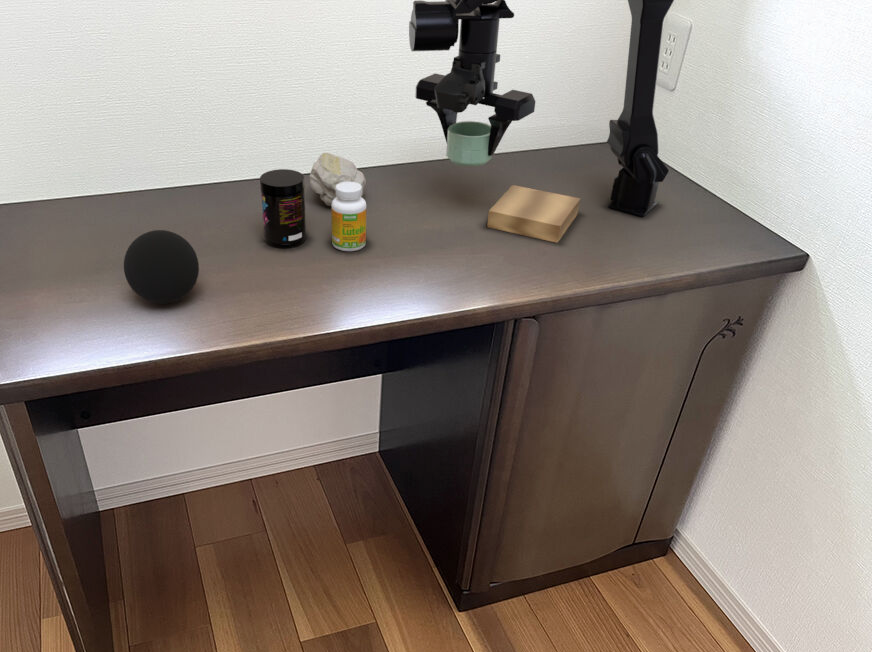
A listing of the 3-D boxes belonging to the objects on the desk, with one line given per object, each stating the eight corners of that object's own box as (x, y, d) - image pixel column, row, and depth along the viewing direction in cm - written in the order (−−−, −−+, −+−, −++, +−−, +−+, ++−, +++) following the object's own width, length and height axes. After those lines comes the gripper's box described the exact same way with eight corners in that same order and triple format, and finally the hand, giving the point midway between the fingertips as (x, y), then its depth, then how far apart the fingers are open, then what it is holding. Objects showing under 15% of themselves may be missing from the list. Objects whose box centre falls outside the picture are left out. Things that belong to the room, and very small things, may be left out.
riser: (577, 214, 136) (580, 198, 134) (557, 243, 128) (560, 226, 126) (510, 200, 141) (512, 184, 139) (486, 227, 132) (488, 210, 130)
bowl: (500, 157, 131) (503, 127, 128) (476, 171, 126) (479, 140, 123) (461, 147, 135) (463, 118, 132) (437, 160, 130) (439, 130, 127)
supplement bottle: (341, 255, 124) (340, 196, 118) (326, 240, 127) (325, 183, 121) (371, 248, 126) (372, 189, 120) (356, 234, 129) (356, 177, 124)
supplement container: (288, 226, 131) (285, 165, 125) (315, 240, 127) (313, 178, 121) (255, 238, 128) (250, 176, 121) (281, 253, 124) (278, 190, 117)
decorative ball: (216, 299, 113) (209, 234, 107) (155, 325, 107) (143, 259, 101) (176, 273, 118) (167, 211, 112) (116, 297, 113) (103, 233, 106)
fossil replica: (350, 184, 146) (300, 198, 143) (344, 139, 141) (293, 152, 138) (380, 204, 137) (328, 219, 134) (375, 156, 132) (321, 171, 129)
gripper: (396, 50, 120) (394, 151, 129) (505, 72, 111) (495, 179, 120) (437, 35, 127) (432, 132, 136) (542, 54, 118) (530, 157, 127)
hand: (469, 149), depth 130 cm, fingers closed on bowl, 7 cm apart
